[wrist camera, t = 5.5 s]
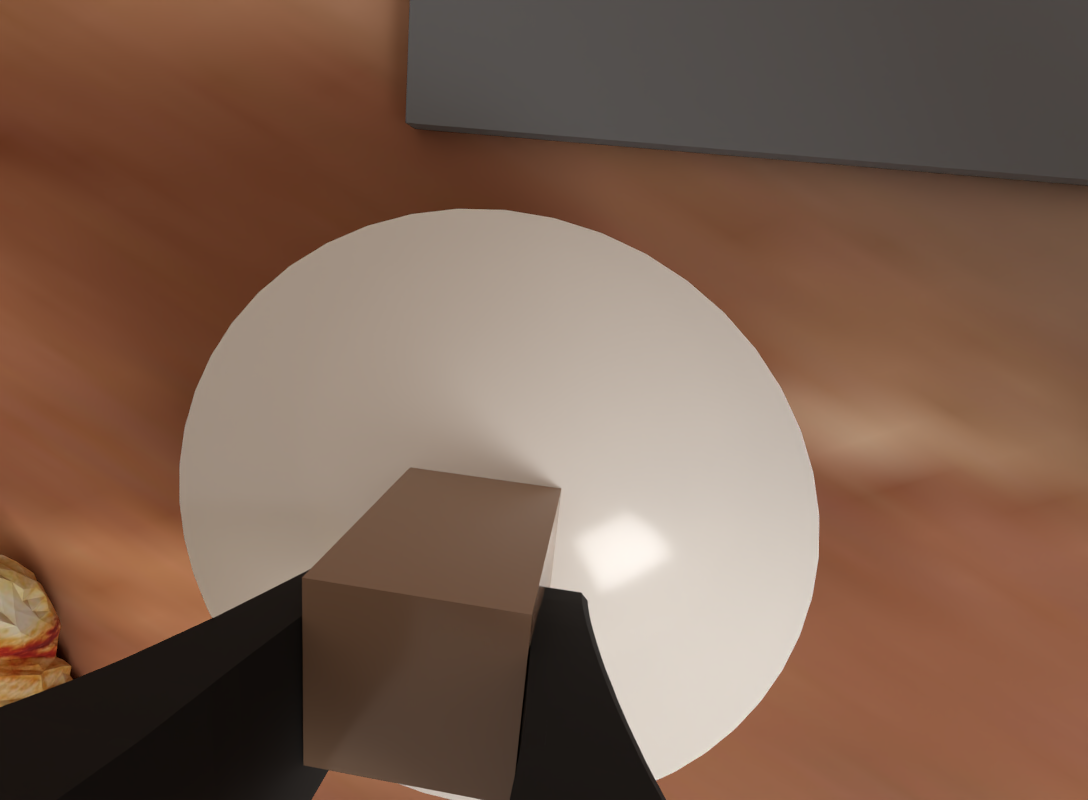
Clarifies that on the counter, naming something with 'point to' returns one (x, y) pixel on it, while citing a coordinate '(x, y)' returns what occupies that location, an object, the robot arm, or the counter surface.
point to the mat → (768, 79)
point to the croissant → (27, 636)
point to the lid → (499, 490)
